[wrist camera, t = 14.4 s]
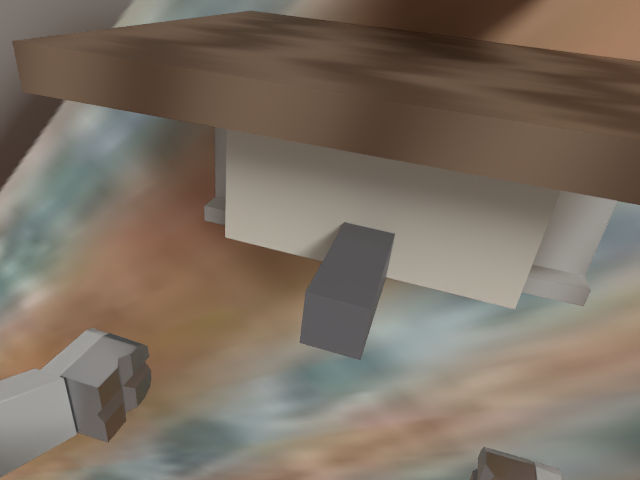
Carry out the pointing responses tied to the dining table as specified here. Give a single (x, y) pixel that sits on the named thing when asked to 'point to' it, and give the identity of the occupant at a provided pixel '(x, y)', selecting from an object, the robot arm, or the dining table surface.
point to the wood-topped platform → (379, 107)
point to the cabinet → (380, 228)
